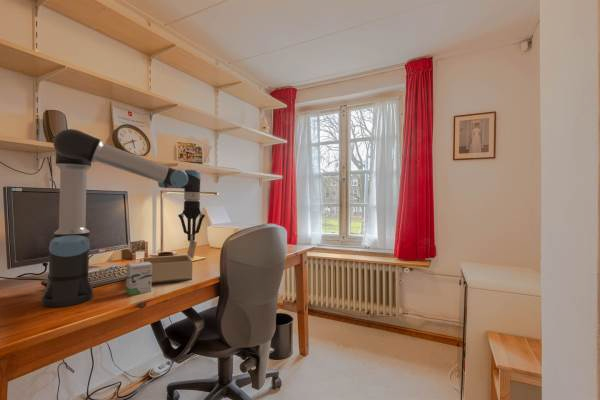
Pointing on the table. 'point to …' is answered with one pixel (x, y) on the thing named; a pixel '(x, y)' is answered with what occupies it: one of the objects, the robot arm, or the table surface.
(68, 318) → the table surface
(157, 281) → the carton
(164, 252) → the mug
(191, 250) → the flap
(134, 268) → the ink box
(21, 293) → the table surface
